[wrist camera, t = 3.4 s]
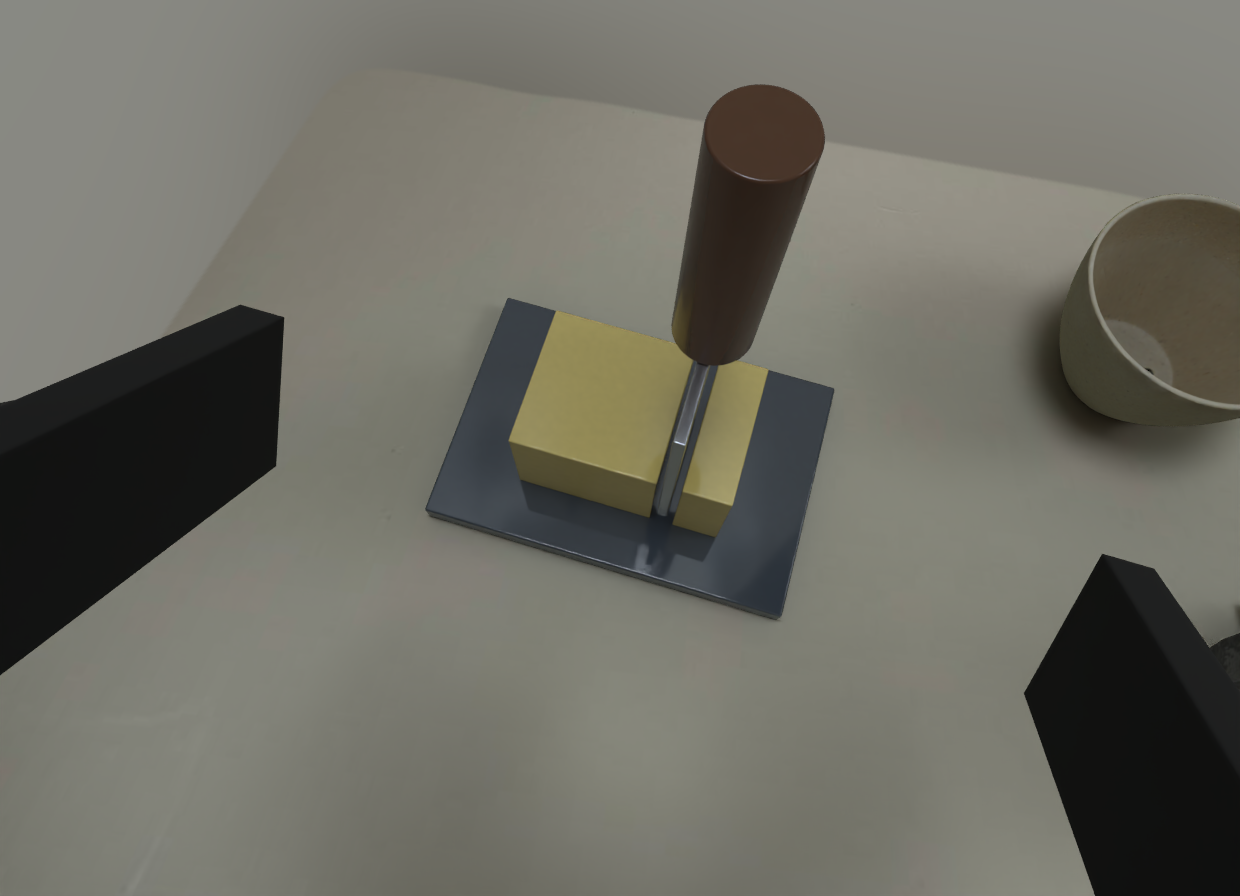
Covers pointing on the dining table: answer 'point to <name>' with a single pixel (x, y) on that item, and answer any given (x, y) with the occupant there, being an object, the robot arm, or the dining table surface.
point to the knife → (738, 232)
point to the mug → (1229, 657)
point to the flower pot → (1158, 314)
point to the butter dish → (625, 536)
